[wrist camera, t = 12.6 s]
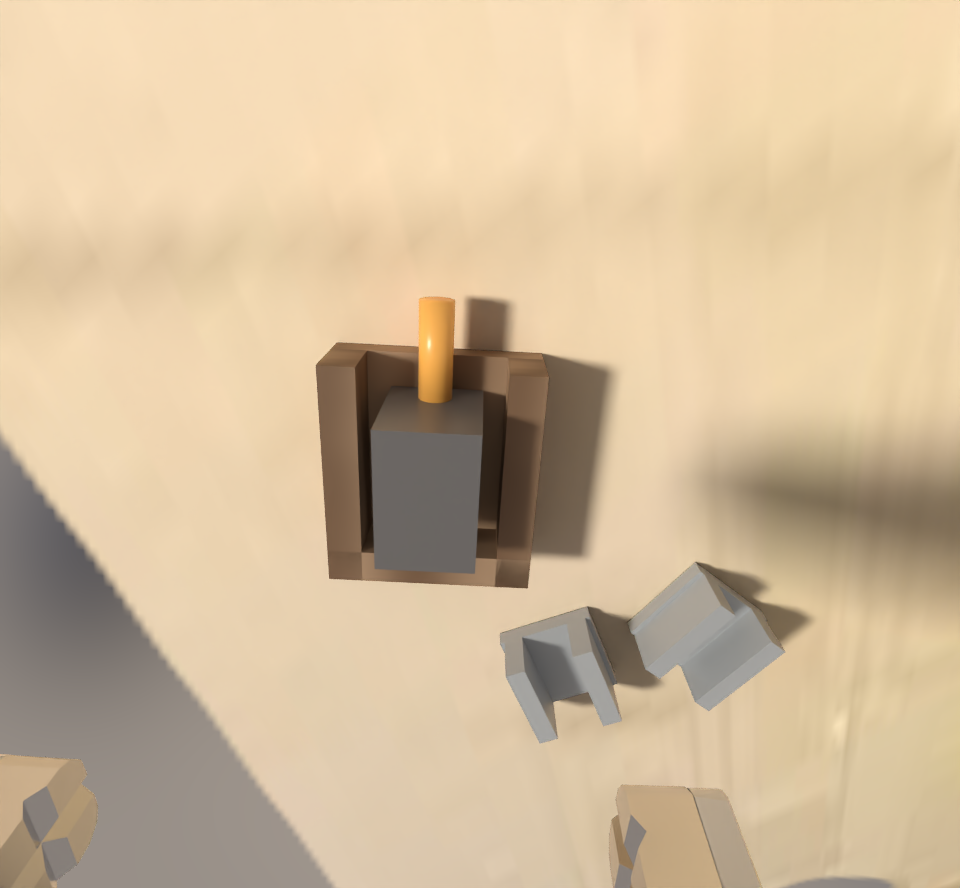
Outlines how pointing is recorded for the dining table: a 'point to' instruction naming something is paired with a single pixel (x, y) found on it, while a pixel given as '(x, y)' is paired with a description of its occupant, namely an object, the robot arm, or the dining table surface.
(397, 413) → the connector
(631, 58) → the dining table surface
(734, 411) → the dining table surface
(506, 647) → the clip
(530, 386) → the holder
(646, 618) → the clip
